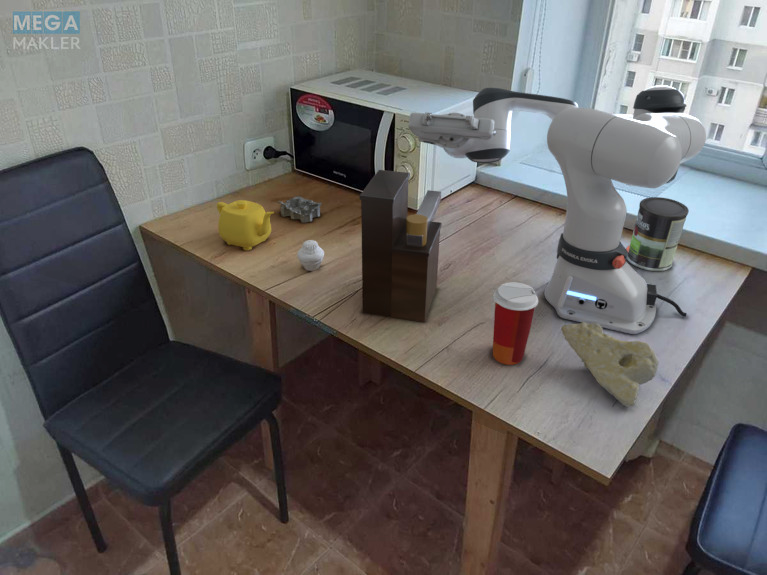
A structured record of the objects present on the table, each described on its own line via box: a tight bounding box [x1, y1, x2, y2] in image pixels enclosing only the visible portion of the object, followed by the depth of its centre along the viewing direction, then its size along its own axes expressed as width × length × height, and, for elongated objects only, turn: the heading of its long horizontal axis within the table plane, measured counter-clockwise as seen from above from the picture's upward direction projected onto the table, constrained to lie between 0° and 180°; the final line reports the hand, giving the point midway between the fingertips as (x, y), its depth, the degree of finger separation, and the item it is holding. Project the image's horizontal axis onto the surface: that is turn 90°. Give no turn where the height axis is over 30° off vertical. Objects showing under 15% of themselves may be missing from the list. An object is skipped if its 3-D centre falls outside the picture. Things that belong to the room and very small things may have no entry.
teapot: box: [216, 199, 275, 251], centre depth 149 cm, size 18×11×11 cm, turn 59°
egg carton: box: [277, 195, 323, 224], centre depth 164 cm, size 11×8×4 cm
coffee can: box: [627, 196, 689, 272], centre depth 141 cm, size 10×10×14 cm
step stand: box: [359, 169, 443, 323], centre depth 122 cm, size 14×13×26 cm
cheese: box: [561, 322, 660, 408], centre depth 107 cm, size 15×7×15 cm
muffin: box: [296, 239, 325, 272], centre depth 139 cm, size 6×6×7 cm
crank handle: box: [406, 189, 442, 248], centre depth 124 cm, size 22×4×5 cm, turn 166°
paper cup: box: [492, 281, 539, 366], centre depth 110 cm, size 8×8×14 cm
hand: (448, 117), depth 138 cm, fingers open, 8 cm apart
